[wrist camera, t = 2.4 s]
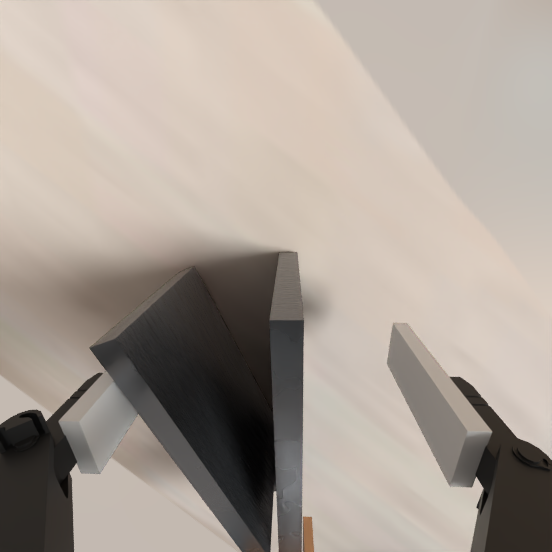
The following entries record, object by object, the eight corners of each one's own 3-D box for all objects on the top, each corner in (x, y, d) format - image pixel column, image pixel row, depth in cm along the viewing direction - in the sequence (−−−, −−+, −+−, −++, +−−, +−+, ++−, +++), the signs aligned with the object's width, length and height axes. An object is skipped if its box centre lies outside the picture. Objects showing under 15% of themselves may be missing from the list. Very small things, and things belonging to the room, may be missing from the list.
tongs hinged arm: (277, 421, 23) (269, 558, 14) (264, 424, 23) (249, 562, 15) (194, 266, 18) (114, 338, 10) (179, 272, 18) (89, 348, 10)
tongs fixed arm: (297, 471, 25) (300, 620, 17) (264, 470, 25) (251, 617, 17) (297, 252, 18) (303, 320, 9) (251, 252, 18) (215, 320, 9)
